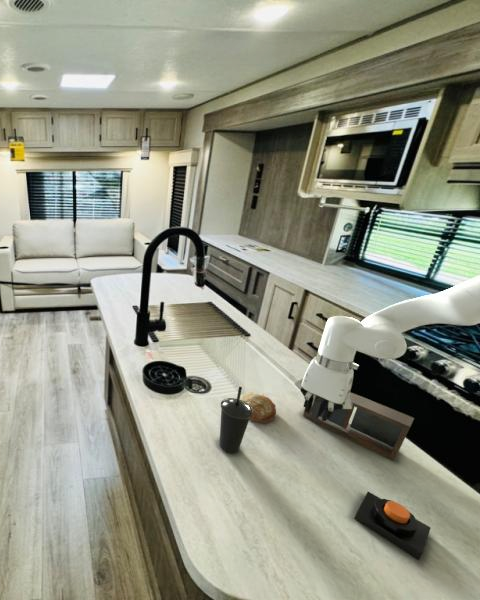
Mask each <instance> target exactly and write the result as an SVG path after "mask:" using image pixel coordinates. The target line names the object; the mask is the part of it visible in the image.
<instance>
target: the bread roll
mask: <svg viewBox="0 0 480 600" xmlns="http://www.w3.org/2000/svg"><path fill="white" fill-rule="evenodd" d="M240 400H242V401H244V402H246V403H247V404H248V405H249V406H250V407H251V408H252V410H253V414H252V416H251V417H250V419H249V420H251V421H252V422H256V423H263V424H264V423H268V422H272V421H273V419H275V417H276V415H277V408H276V404H275V403H274V402H273V400H271V399H270V398H269V397H268V396H265V395H264V394H258V393H255V392H247V393H245V394H244V395H243V396H242V397H241V398H240Z"/></svg>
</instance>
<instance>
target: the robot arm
mask: <svg viewBox="0 0 480 600" xmlns="http://www.w3.org/2000/svg"><path fill="white" fill-rule="evenodd" d="M325 322H326V323H325V326H324V329H323V333H322V336H321V338H320V343H319V346H318V349H317V353H316V356H314V357H313V358H312V359H311V361H310V362H309V365H308V366H307V368H306V370H305V373H304V376H303V377H302V378H300V379H297V381H295V383H294V385H295V386H296V388H298V390H299V391H300V392H301V394H302V395H303V399H304V402H303V408H304V410H303V413H304V412H308V411H309V410H310V409H311V406H312V403H313V400H314V397H313V394H315V395H318V396H320V397H322V398H324V399H327V400H329V402H328V407H327V408H326V409H325V411H324V414H323V417H322V420H323V421H325V420H326V419H327V418H328V419H330V418H331V416H332V413H333V410H339V409H352V408H353V403H352V401H351V399H350V397H349V393H350V392H351V389H352V386H353V382H354V381H353V380H354V373H355V372H354V370H356V371H358V369H359V368H360V365H359V364H357V363H355V361H354V360H355V355H356V354H357V352H359V353H361V354H364V355H367V356H370V357H373V358H377V359H381V360H395V359H398V358H400V357H402V356H404V354H406V352H407V348H408V346H407V345H408V344H407V342H406V339H405V338H404V336H403V333H405V332H407V331H410V330H412V329H415V328H418V327H422V326H426V325H434V324H445V325H455V326H475V325H478V324H480V275H477V276H475V277H473V278H471V279H468V280H466V281H464V282H461V283H459V284H457V285H454V286H453V287H450V288H448V289H445V290H443V291H440V292H437V293H433V294H428V295H423V296H420V297H415V298H411V299H406V300H403V301H400V302H396V303H394V304H391V305H389V306H386V307H385V308H382V309H380V310H378V311H376V312H374V313H371V314H370V315H368V316H366V317H365V318H363V319H362V320H361V321H359V320H358V319H355V318H353V317H349V316H344V315H333V316H331V317H329V318H327V321H325ZM343 402H345V403H343Z"/></svg>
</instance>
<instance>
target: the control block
mask: <svg viewBox="0 0 480 600" xmlns="http://www.w3.org/2000/svg"><path fill="white" fill-rule="evenodd" d="M388 501H393V502H395V501H394V500H390V499H388V498H381V497H379V496H377V495H375V494H374V493H372V492H370V491H367V492H366V494H365V496H364V497H363V500H362V502H361V503H360V505H359V507H358V509H357V511H356V513H355V515H354V518H353V519H354V520H355V521H357V522H358V523H359V524H361V525H362V526H365V527H366V528H367V529H368V530H370V531H372V532H374V533H375V534H377V535H378V536H379V537H381V538H383V539H384V540H386V541H387V542H389V543H390V544H392V545H394V546H395V547H397V548H398V549H400V550H401V551H403V552H404V553H406V554H407V555H409V556H411V557H412V558H413V559H415V560H416V561H420V560H421V558H422V555H423V554H424V552H425V548H426V544H427V541H428V538H429V534H430V532H431V528H432V527H431V526H429V525H428V524H426V523H424V522H422V521H421V520H418V519H417V518H416V517H415V515H414V514H413V513H411V512H410V511H409V513H410V518H409V520H408V522H407V523H405V524H401V523H398V522H396V521H394V520H393V519H391V518H389V517H388V516H387V515H386V514H385V512H384V507H385V505H386V503H387V502H388Z"/></svg>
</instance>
